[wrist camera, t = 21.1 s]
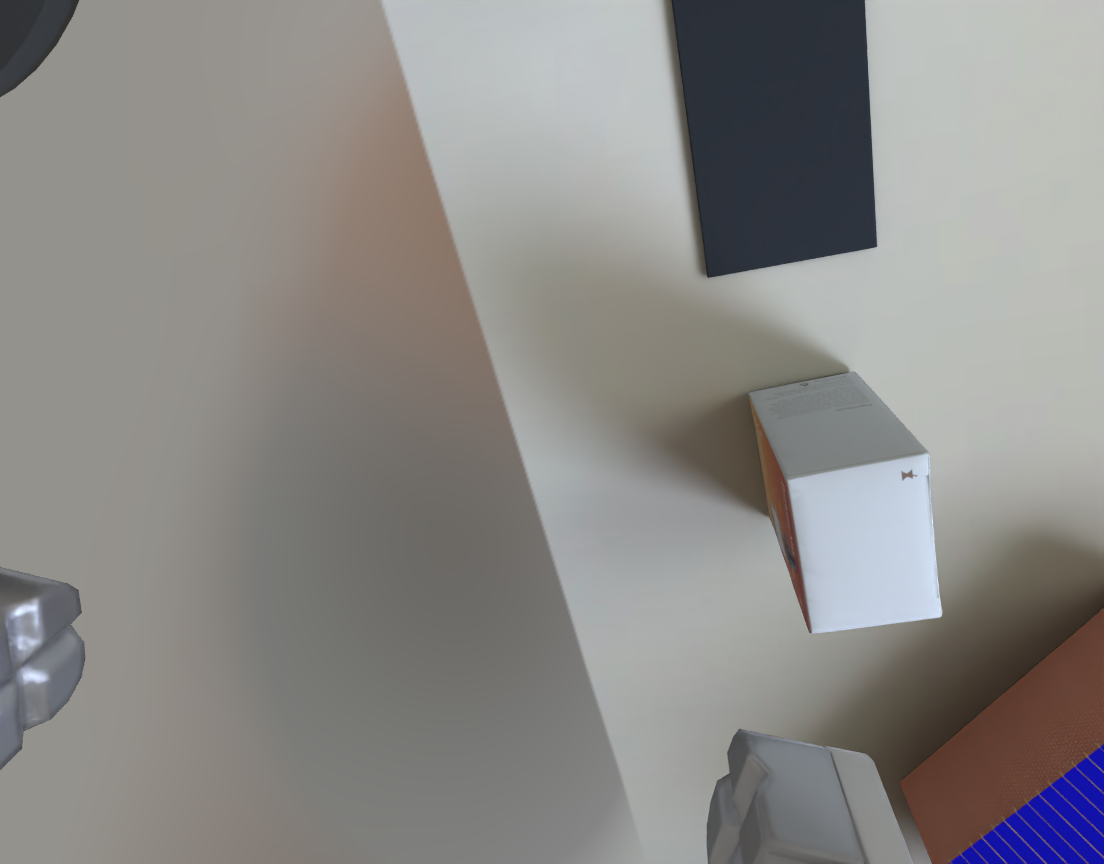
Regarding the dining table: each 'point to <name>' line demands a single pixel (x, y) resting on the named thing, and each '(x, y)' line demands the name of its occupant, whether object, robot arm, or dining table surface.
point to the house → (1023, 769)
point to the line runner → (778, 128)
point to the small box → (848, 503)
